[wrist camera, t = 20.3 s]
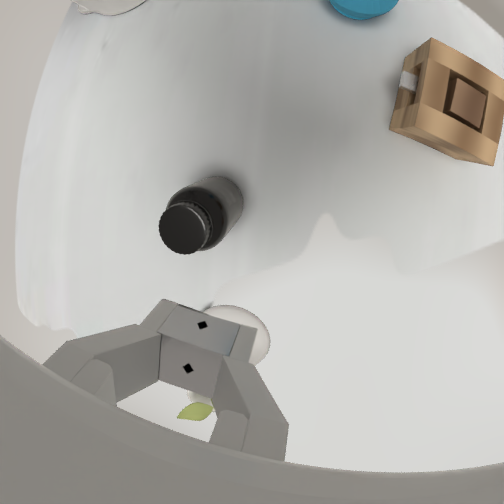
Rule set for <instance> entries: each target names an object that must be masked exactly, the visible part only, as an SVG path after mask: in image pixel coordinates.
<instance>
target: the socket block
mask: <svg viewBox="0 0 504 504" xmlns="http://www.w3.org/2000/svg"><path fill="white" fill-rule="evenodd" d="M403 71H407V72H409V73H411V74H414V75H416V76H418V77H419V81H418V86H417V91H416V94H413V93H411V92H409V91H406V90H404V89H401V88H399V89H398V94H397V98H396V103H395V107H394V111H393V115H392V120H391V124H390V128H389V130H391V131H394V132H396V133H399V134H401V135H404V136H406V137H409V138H411V139H413V140H416V141H418V142H420V143H423V144H425V145H427V146H429V147H432V148H434V149H436V150H438V151H440V152H442V153H444V154H447V155H449V156H451V157H453V158H455V159H458V160H463V161H469V162H474V163H479V164H484V165H489V166H494V162H495V157H496V153H497V148H498V144H499V139H500V134H501V128H502V123H503V117H504V80H503V79H502V78H500V77H499V76H498V75H496V74H495V73H493V72H492V71H490V70H489V69H487V68H485V67H484V66H482V65H481V64H479V63H477V62H476V61H474V60H472V59H471V58H469V57H467V56H466V55H464V54H462V53H460V52H459V51H457V50H455V49H453V48H451V47H449V46H447V45H446V44H444V43H442V42H440V41H438V40H436V39H434V38H430V39H428V40H427V41H426V42H425V43H423V44H422V45H421V46H420V47H418V48H417V49H416V50H414V51H413V52H412V53H411V54H409V55H408V56H407V57H406V58H405V59H404V65H403V70H402V72H403ZM456 78H459V79H460V80H462V81H464V82H465V83H467V84H468V85H470V86H472V87H473V88H475V89H476V90H478V91H479V92H481V93H482V94H484V95H485V96H486V100H485V105H484V110H483V115H482V119H481V124H480V128H474V129H472V128H470V127H468V126H467V125H465V124H463V123H461V122H459V121H457V120H455V119H454V118H452V117H450V116H448V115H446V114H444V113H442V112H443V107H444V102H445V97H446V92H447V86H448V81H450V80H453V79H456Z"/></svg>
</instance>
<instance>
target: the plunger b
mask: <svg viewBox="0 0 504 504" xmlns="http://www.w3.org/2000/svg"><path fill="white" fill-rule="evenodd" d="M418 81H419V77H418V76H416V75H414V74H411V73H409V72H407V71H403V72H402V73H401V78H400V83H399V88H401V89H404V90H406V91H409V92H411V93H413V94H416V91H417V86H418Z"/></svg>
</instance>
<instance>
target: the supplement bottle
mask: <svg viewBox="0 0 504 504" xmlns="http://www.w3.org/2000/svg"><path fill="white" fill-rule="evenodd" d="M242 210H243V198H242V195H241V192H240V191H239V189H238V187H237V186H236V185H235V184H234V183H233V182H231V181H230V180H228V179H226V178H223V177H209V178H206V179H203V180H201V181H199V182H196V183H194V184H192V185H189V186H187V187H185V188H183V189H181V190H179V191H178V192H177V193H175V194H174V195H173V196H172V197H171V199H170V200H169V202H168V204H167V207H166V211H165V212H163V215H162V216H161V220H160V221H159V232H160V236H161V238H162V240H163V241H164V244H165V245H167V247H168V248H170V249H171V250H172V251H174V252H176V253H179V254H184V255H186V254H191V253H195V252H196V251H205V250H208V249H211V248H213V247H215V246H216V245H217V244H218V243H220V242H221V241H222V239H223V238H224V237H225V236H226V234H227V233H228V232H229V231H230V229H231V228H232V227H233V226H234V224H235V223H236V222H237V221H238V219H239V218H240V216H241V213H242Z"/></svg>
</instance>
